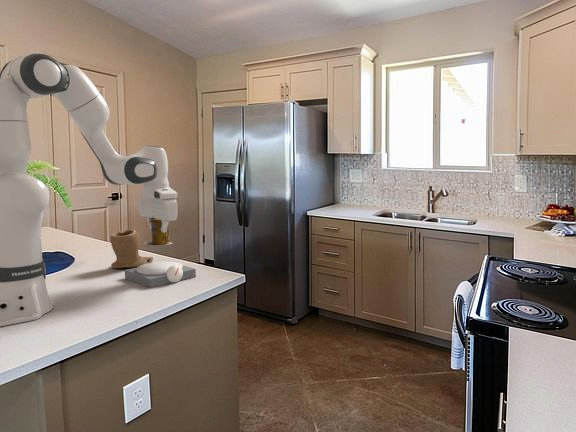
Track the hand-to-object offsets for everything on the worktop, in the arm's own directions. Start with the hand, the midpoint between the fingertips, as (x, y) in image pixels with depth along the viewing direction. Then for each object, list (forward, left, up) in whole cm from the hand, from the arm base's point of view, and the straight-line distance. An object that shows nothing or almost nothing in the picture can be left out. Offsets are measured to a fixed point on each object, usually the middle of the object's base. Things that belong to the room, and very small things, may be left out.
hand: (158, 231), depth 157 cm
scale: (0, 0, -17) cm, 17 cm away
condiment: (0, 0, -5) cm, 5 cm away
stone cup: (0, +22, -17) cm, 28 cm away
